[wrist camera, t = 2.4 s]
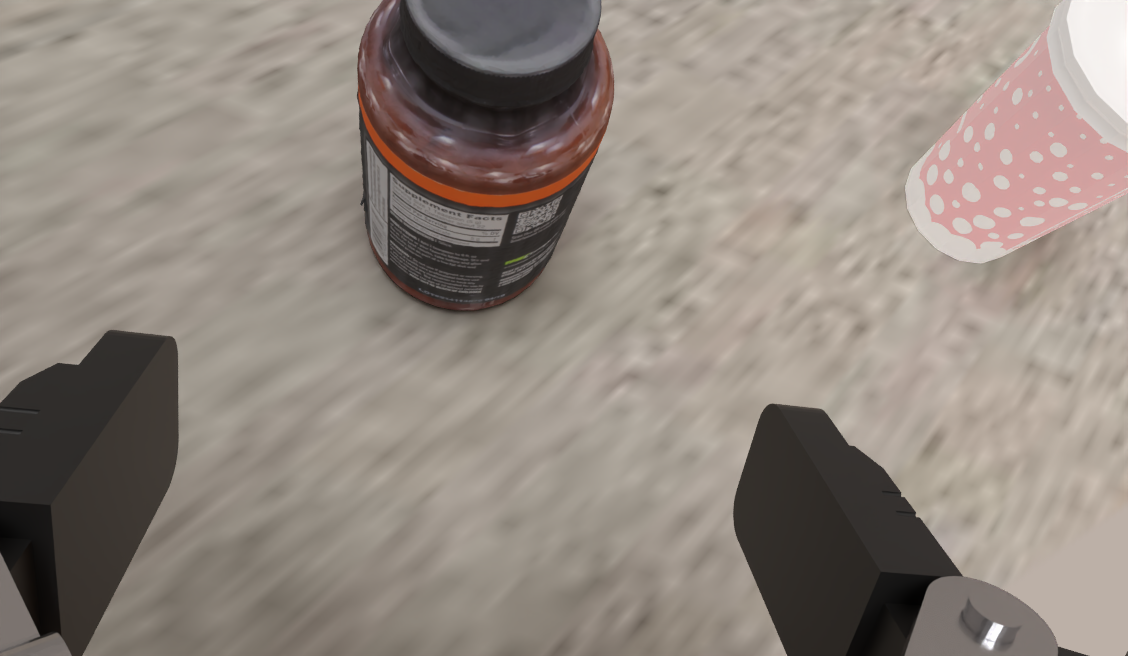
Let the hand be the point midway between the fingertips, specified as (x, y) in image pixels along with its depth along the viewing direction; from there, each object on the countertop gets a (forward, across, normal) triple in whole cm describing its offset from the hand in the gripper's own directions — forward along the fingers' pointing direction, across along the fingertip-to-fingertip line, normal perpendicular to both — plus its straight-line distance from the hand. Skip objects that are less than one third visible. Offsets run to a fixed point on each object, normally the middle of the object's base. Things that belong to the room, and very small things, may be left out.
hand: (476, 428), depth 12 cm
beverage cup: (+19, -18, 0) cm, 26 cm away
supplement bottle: (+16, 0, +3) cm, 17 cm away
